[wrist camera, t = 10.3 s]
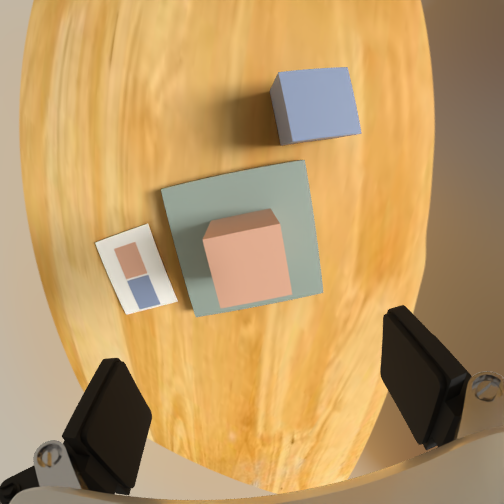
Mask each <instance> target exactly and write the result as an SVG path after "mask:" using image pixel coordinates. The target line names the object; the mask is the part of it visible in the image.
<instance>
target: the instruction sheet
mask: <svg viewBox="0 0 504 504" xmlns="http://www.w3.org/2000/svg"><path fill="white" fill-rule="evenodd" d="M95 244H96V247H97V249H98V252H99V254H100V257H101V259H102V262H103V264H104V267H105V269H106V271H107V274H108V276H109V278H110V281H111V283H112V285H113V287H114V290H115V292H116V294H117V296H118V298H119V301H120V303H121V305H122V307H123V309H124V311H125V313H126V314H130V313H134V312H138V311H142V310H146V309H150V308H154V307H158V306H162V305H166V304H170V303H174V302H178V300H177V297H176V295H175V293H174V290H173V288H172V285H171V283H170V280H169V278H168V275H167V273H166V270H165V268H164V265H163V262H162V260H161V257H160V255H159V252H158V249H157V247H156V244H155V241H154V239H153V236H152V233H151V230H150V227H149V225H148V224H145V225H142V226H139V227H136V228H134V229H131V230H128V231H125V232H122V233H120V234H117V235H114V236H111V237H109V238H106V239H103V240H100V241H98V242H95Z"/></svg>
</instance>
